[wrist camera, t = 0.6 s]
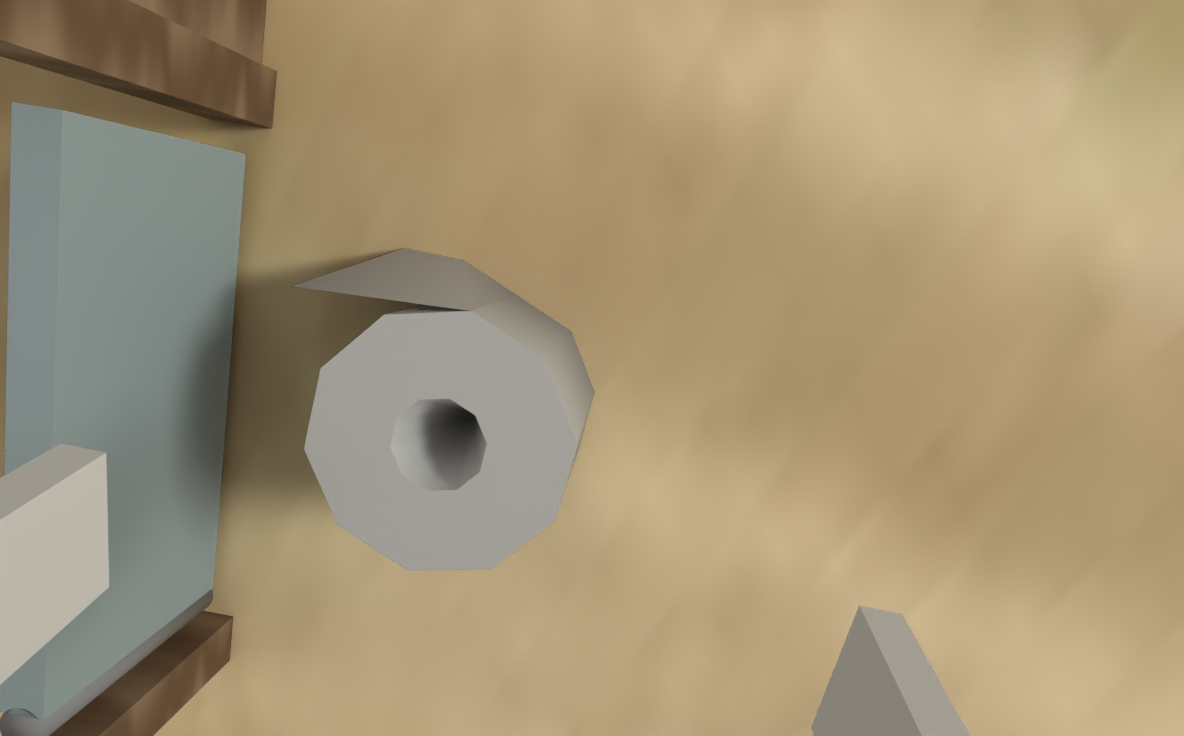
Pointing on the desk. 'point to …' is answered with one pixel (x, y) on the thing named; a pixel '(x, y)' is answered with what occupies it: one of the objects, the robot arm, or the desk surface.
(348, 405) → the toilet tissue
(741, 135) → the desk surface
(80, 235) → the door
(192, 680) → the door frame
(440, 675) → the desk surface
